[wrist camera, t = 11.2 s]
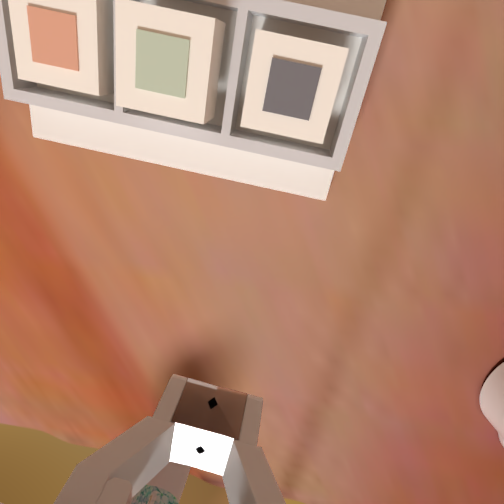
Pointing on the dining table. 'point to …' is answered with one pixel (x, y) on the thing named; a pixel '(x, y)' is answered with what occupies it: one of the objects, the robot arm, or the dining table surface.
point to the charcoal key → (292, 85)
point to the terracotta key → (65, 43)
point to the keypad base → (219, 98)
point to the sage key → (167, 61)
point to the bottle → (164, 486)
